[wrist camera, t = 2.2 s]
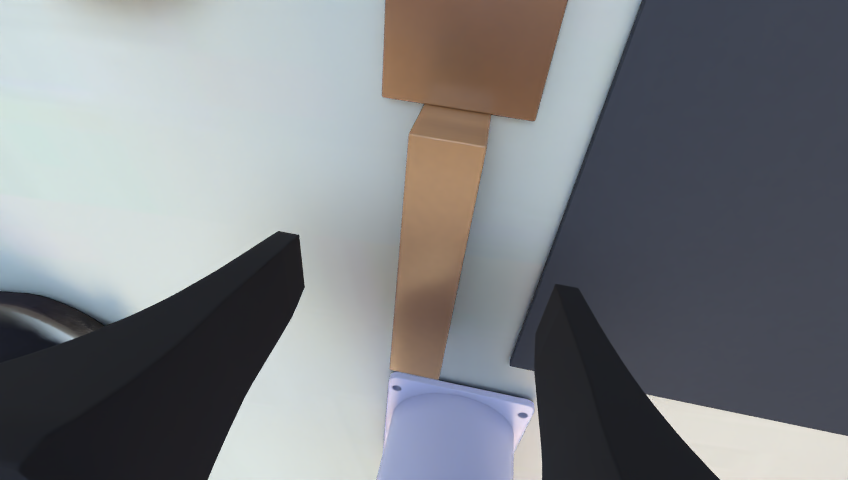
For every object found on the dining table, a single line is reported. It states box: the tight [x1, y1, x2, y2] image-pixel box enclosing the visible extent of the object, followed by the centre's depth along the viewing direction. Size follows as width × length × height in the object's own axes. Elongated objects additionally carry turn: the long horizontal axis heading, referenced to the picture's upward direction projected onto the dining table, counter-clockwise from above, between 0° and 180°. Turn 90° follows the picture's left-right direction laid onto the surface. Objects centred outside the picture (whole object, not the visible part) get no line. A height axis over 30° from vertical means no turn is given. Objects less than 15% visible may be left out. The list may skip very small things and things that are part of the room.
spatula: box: [382, 0, 568, 380], centre depth 14 cm, size 18×5×3 cm, turn 174°
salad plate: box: [0, 292, 105, 363], centre depth 29 cm, size 19×18×5 cm
